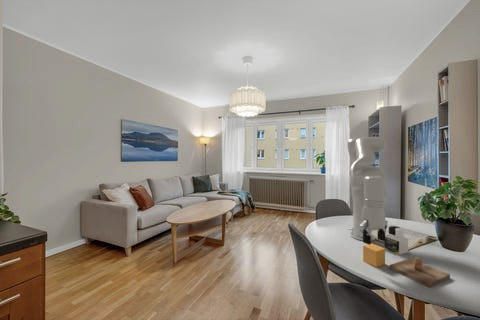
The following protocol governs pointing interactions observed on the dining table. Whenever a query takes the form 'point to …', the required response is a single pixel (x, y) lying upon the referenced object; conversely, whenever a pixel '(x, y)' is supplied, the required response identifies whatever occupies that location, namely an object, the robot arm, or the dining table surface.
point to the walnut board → (419, 272)
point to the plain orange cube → (374, 255)
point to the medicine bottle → (396, 241)
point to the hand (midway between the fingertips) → (374, 241)
